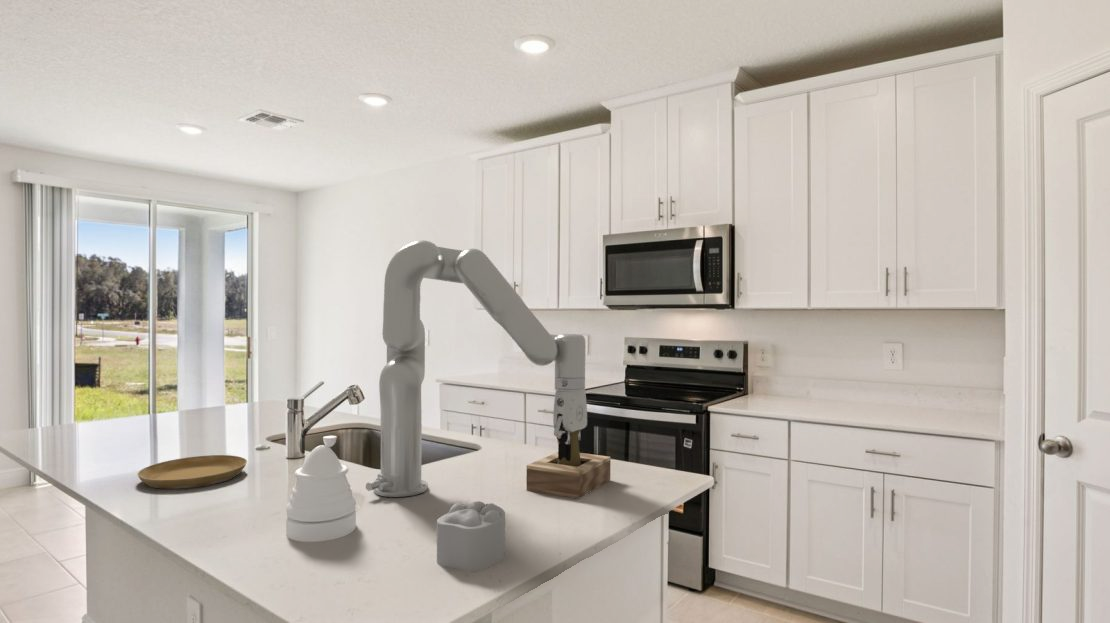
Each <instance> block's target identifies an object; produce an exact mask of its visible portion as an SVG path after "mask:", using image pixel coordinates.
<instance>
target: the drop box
mask: <svg viewBox="0 0 1110 623" xmlns="http://www.w3.org/2000/svg"><path fill="white" fill-rule="evenodd" d="M580 460H581V465H580V466H578V467H575V466H568V465H561V464H557V462H558V451H557V452H555V453H553V454H551V455H548V456H546V457H543V458H541V459H538V460H535V461H533V462H531V463H528V464H527V465H526V491H530V492H534V493H535V492H536V493H540V492H541V494H547V495H553V496H558V497H564V496H567V497H566V498H570V497H573V498H572V499H576V498H579V499H581V498H583V497H585V496H586V495H587V493H588V494H589V492H590V491H591V492H593V491H595V490H597V489H598V488H599V486H600V487H602V486H603V485H605V484H607V483H609V482H610V481H611V456H607V455H599V454H591V453H583V452H580ZM606 482H607V483H606ZM604 483H605V484H604ZM601 485H602V486H601ZM597 487H598V488H597ZM594 489H595V490H594ZM592 490H593V491H592ZM591 492H590V493H591ZM585 494H586V495H585ZM582 496H583V497H582ZM580 497H581V498H580Z"/></svg>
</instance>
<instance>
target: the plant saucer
mask: <svg viewBox="0 0 1110 623" xmlns="http://www.w3.org/2000/svg"><path fill="white" fill-rule="evenodd" d="M247 461H248V460H247V459H246V458H244V457H242V456H239V455H238V456H237V455H230V454H229V455H227V454H214V455H213V454H210V455H208V454H207V455H195V456H189V457H188V456H187V457H182V458H176V459H170V460H165V461H162V462H158V463H155V464H151V465H148V466H146V467H144V468H142V469H140V470H139V471H138V472H137V476H138V478H139V479H140V481H141V482H143V483H144V484H145V485H147V486H148V487H149V486H150V487H151V488H154V489H162V490H163V489H164V490H180V489H183V490H184V489H185V490H186V489H193V488H200V487H206V486H212V485H216V484H219V483H223V482H226V481H229V480H231V479H233V478H234V477H236V476H237V475H238V474H240V473H242V471H243V470H244V469H245V467H246V464H247Z"/></svg>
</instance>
